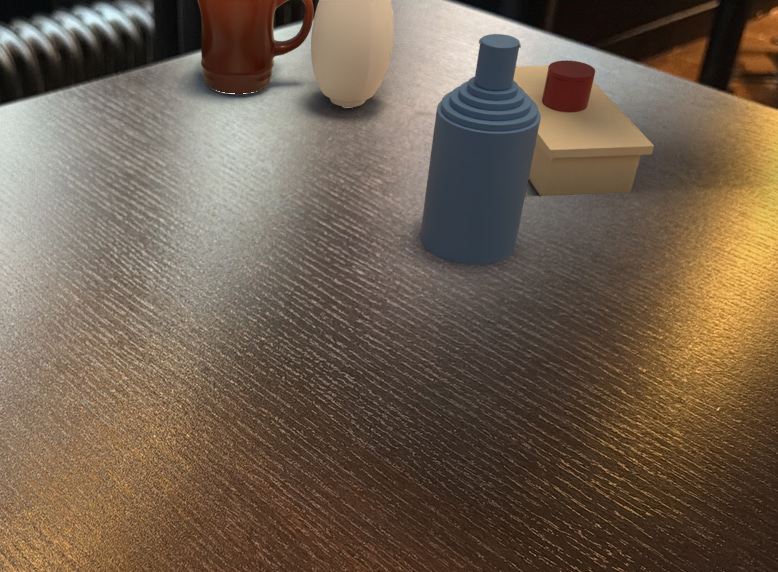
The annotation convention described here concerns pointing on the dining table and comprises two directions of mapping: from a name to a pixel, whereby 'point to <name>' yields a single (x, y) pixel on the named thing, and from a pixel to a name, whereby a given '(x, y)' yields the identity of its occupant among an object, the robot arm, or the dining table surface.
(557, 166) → the sill
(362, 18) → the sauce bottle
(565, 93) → the cap
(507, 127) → the bottle
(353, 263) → the dining table surface
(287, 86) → the dining table surface
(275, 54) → the mug
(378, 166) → the dining table surface
